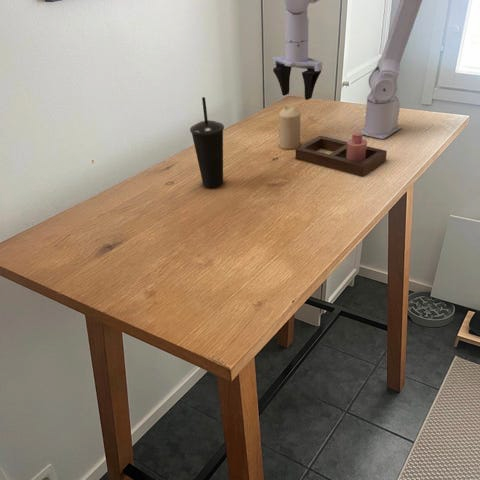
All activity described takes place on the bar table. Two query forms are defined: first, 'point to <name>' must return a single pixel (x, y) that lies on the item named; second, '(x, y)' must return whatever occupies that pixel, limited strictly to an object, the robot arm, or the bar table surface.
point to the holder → (339, 156)
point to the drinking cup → (209, 150)
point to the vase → (356, 147)
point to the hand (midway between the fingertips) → (296, 96)
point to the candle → (289, 128)
